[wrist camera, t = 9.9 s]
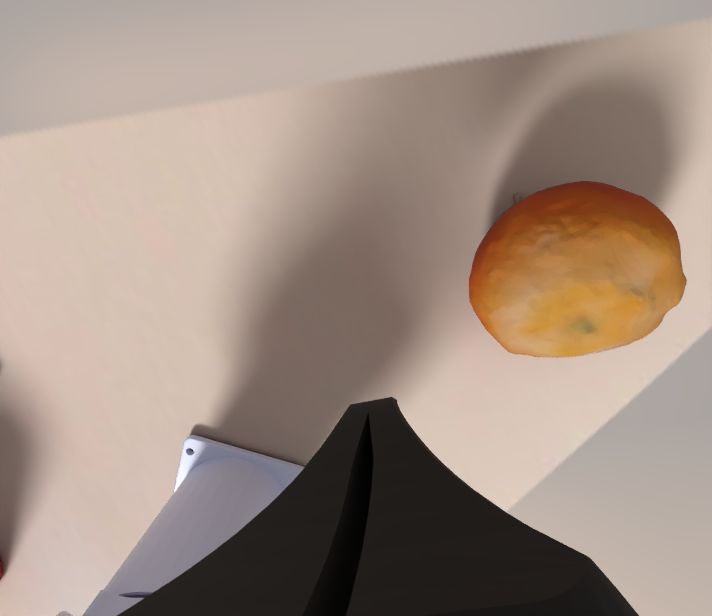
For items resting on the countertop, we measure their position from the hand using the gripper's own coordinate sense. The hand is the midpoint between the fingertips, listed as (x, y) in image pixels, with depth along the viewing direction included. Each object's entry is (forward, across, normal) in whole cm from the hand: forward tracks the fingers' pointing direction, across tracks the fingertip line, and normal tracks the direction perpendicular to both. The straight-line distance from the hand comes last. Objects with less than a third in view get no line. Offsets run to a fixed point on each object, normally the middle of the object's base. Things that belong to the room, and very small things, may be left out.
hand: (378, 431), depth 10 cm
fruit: (+11, -9, -1) cm, 14 cm away
